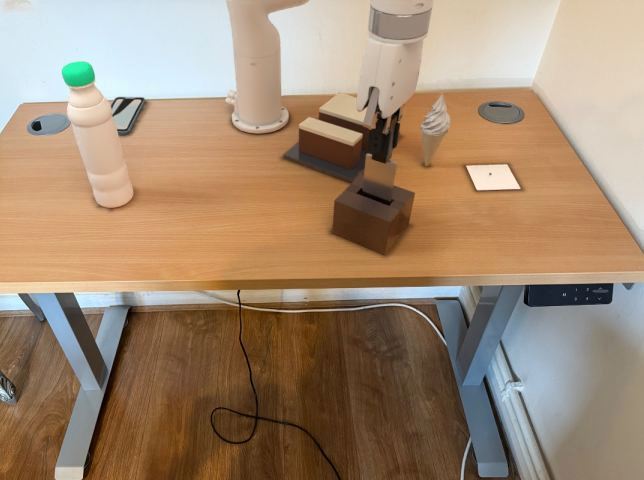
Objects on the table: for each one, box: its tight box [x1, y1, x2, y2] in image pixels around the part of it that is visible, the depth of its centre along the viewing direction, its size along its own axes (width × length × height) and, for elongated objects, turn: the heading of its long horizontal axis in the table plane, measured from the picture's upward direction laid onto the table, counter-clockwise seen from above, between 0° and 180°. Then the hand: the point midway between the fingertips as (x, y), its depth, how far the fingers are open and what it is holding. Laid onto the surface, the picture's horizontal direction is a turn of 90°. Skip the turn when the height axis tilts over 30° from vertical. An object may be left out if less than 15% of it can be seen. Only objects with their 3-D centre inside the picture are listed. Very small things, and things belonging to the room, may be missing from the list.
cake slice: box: [298, 116, 363, 170], centre depth 103 cm, size 12×4×6 cm, turn 55°
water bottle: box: [61, 60, 134, 209], centre depth 91 cm, size 7×7×25 cm
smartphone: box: [110, 96, 146, 136], centre depth 120 cm, size 7×1×15 cm
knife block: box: [331, 173, 416, 256], centre depth 89 cm, size 10×9×7 cm
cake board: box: [283, 131, 401, 184], centre depth 109 cm, size 16×20×1 cm
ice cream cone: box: [419, 92, 451, 167], centre depth 99 cm, size 5×5×15 cm
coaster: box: [465, 164, 521, 191], centre depth 100 cm, size 8×8×1 cm
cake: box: [318, 92, 369, 151], centre depth 109 cm, size 12×8×6 cm, turn 55°
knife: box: [362, 114, 398, 206], centre depth 82 cm, size 5×2×16 cm, turn 55°
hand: (382, 148), depth 80 cm, fingers closed on knife, 2 cm apart
